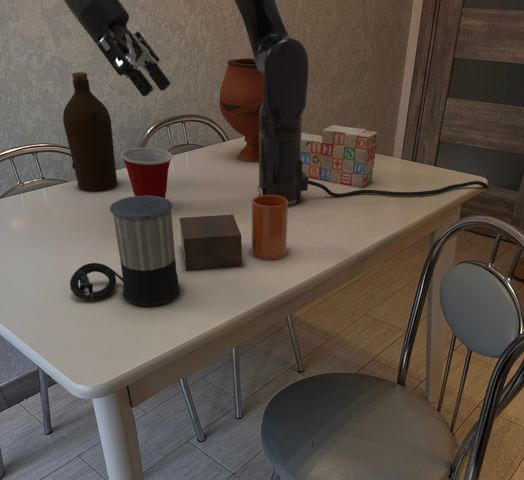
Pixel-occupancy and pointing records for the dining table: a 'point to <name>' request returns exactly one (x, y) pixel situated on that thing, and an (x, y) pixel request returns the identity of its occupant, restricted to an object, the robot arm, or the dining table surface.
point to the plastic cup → (147, 170)
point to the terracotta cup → (269, 226)
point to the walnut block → (210, 242)
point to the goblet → (243, 103)
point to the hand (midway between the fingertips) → (158, 90)
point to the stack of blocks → (340, 155)
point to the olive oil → (89, 138)
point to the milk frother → (138, 254)
